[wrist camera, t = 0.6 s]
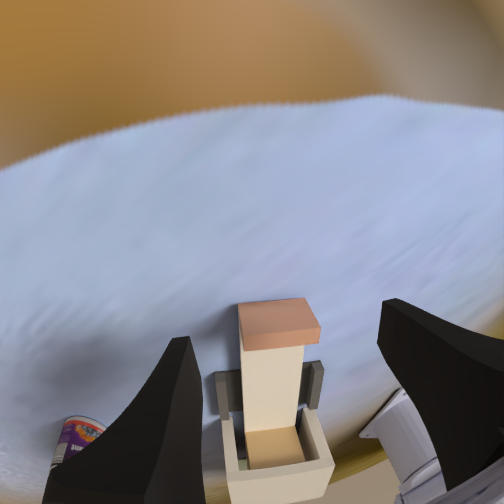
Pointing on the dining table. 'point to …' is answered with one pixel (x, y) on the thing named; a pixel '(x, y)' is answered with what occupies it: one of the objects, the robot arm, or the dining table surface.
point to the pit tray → (232, 388)
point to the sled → (273, 377)
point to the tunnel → (281, 469)
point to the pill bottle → (75, 437)
